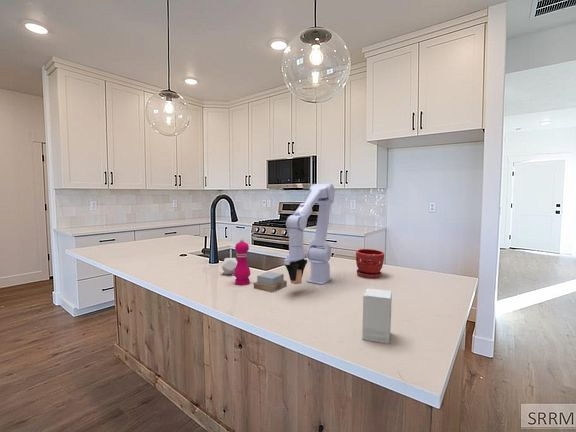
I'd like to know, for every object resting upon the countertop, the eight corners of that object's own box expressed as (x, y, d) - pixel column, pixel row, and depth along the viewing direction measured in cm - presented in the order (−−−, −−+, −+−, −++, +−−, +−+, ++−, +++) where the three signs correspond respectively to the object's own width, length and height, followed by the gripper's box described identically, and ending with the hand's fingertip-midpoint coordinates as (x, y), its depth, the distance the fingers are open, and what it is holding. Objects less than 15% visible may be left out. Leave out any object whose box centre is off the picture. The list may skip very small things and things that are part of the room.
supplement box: (389, 344, 84) (390, 298, 83) (361, 339, 87) (362, 295, 86) (391, 332, 91) (392, 290, 90) (365, 328, 94) (366, 287, 93)
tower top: (268, 278, 139) (268, 271, 138) (283, 280, 134) (283, 274, 134) (257, 282, 132) (257, 275, 132) (272, 285, 128) (272, 278, 127)
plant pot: (355, 278, 146) (355, 253, 145) (355, 271, 159) (356, 248, 158) (384, 280, 143) (385, 254, 142) (382, 273, 156) (383, 249, 155)
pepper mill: (247, 285, 135) (246, 239, 133) (231, 284, 137) (230, 239, 135) (252, 281, 142) (252, 237, 141) (237, 280, 144) (237, 236, 142)
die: (233, 278, 149) (243, 260, 152) (217, 269, 148) (227, 252, 152) (232, 280, 156) (242, 263, 160) (217, 271, 156) (227, 254, 159)
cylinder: (294, 280, 129) (294, 268, 128) (303, 281, 126) (303, 269, 126) (288, 282, 125) (288, 270, 125) (297, 284, 123) (298, 272, 122)
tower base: (268, 283, 140) (268, 277, 140) (286, 287, 135) (286, 280, 135) (253, 289, 132) (253, 282, 132) (272, 294, 127) (272, 286, 126)
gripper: (297, 241, 133) (297, 273, 134) (277, 247, 121) (277, 281, 122) (311, 243, 129) (311, 275, 130) (292, 249, 117) (292, 284, 118)
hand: (296, 278), depth 126 cm, fingers closed on cylinder, 4 cm apart
